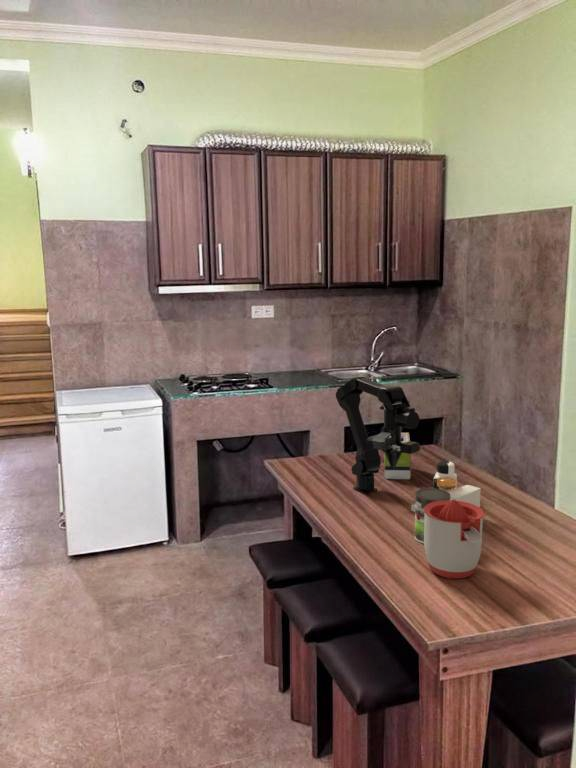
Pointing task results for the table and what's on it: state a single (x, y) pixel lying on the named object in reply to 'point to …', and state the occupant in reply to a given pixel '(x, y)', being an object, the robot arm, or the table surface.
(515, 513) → the table surface
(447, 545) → the citrus juicer
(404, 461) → the tea box
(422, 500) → the coffee can
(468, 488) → the knob mount
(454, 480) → the knob
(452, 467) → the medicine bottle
